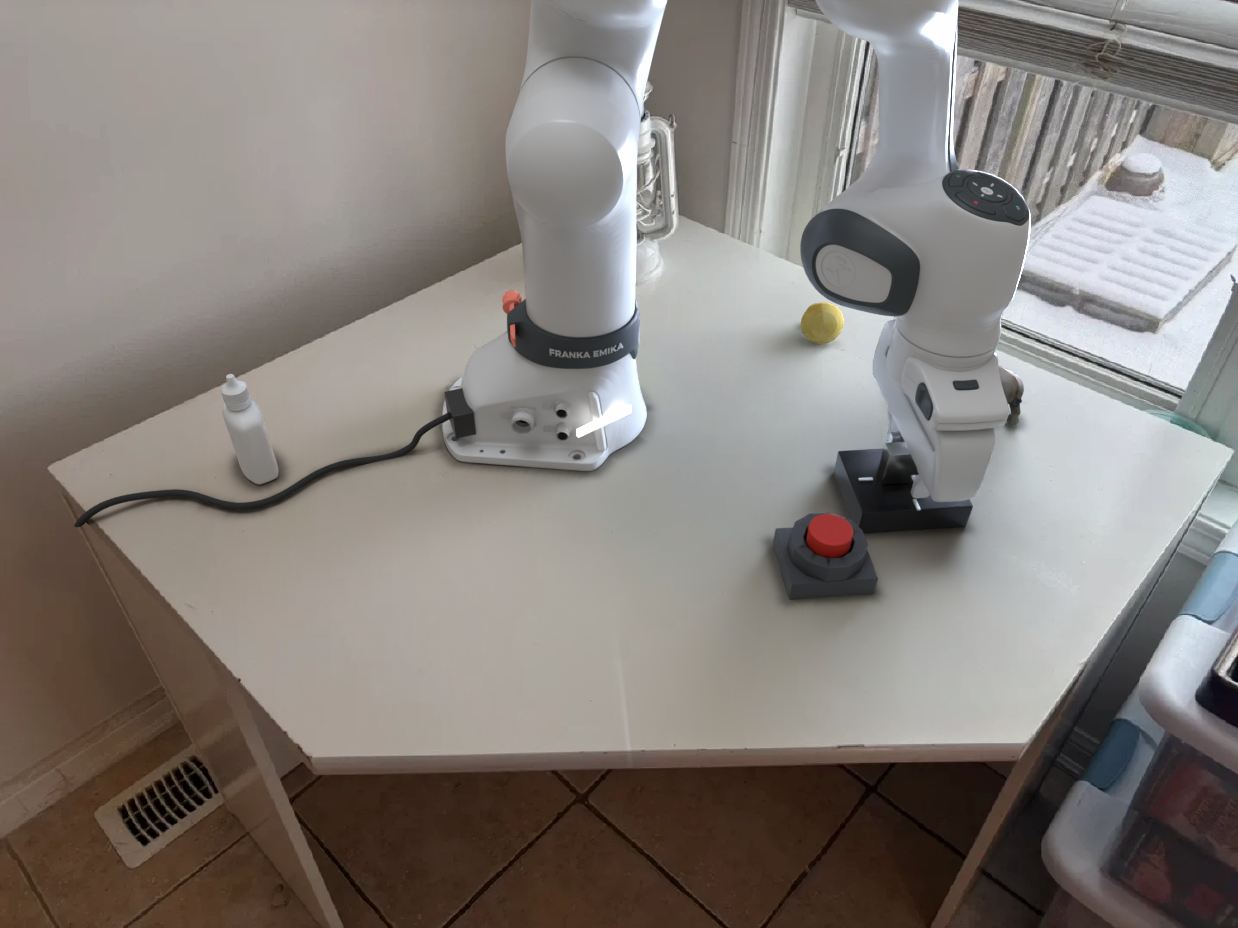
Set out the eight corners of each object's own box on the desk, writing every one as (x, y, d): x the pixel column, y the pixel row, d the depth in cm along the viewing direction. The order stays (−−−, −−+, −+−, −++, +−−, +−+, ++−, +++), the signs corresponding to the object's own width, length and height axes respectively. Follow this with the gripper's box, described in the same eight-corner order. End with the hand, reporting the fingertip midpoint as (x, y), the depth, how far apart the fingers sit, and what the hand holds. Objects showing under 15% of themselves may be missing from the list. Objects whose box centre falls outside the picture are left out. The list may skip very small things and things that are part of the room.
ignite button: (812, 559, 88) (814, 546, 87) (801, 528, 91) (804, 514, 90) (855, 557, 88) (858, 544, 87) (843, 525, 91) (846, 512, 90)
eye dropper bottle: (285, 449, 103) (258, 357, 95) (277, 485, 99) (248, 392, 91) (242, 451, 103) (212, 359, 95) (233, 488, 99) (200, 395, 91)
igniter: (788, 600, 89) (794, 571, 86) (772, 543, 94) (777, 514, 91) (874, 594, 90) (882, 565, 87) (853, 538, 95) (860, 509, 92)
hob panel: (857, 535, 95) (863, 512, 93) (833, 471, 102) (838, 448, 100) (966, 528, 96) (974, 505, 94) (934, 465, 103) (942, 443, 101)
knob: (841, 346, 118) (848, 312, 115) (799, 345, 118) (805, 311, 115) (836, 324, 122) (842, 290, 118) (794, 323, 122) (800, 289, 118)
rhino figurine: (933, 358, 117) (945, 316, 113) (1025, 421, 108) (1041, 378, 104) (908, 369, 115) (920, 327, 111) (999, 434, 107) (1015, 391, 103)
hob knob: (882, 484, 96) (890, 453, 93) (876, 472, 97) (885, 440, 94) (931, 482, 96) (941, 450, 94) (925, 469, 98) (935, 437, 95)
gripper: (871, 292, 94) (847, 403, 104) (943, 429, 79) (907, 545, 89) (934, 289, 95) (904, 400, 104) (1018, 425, 80) (974, 540, 89)
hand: (906, 468), depth 96 cm, fingers open, 5 cm apart
